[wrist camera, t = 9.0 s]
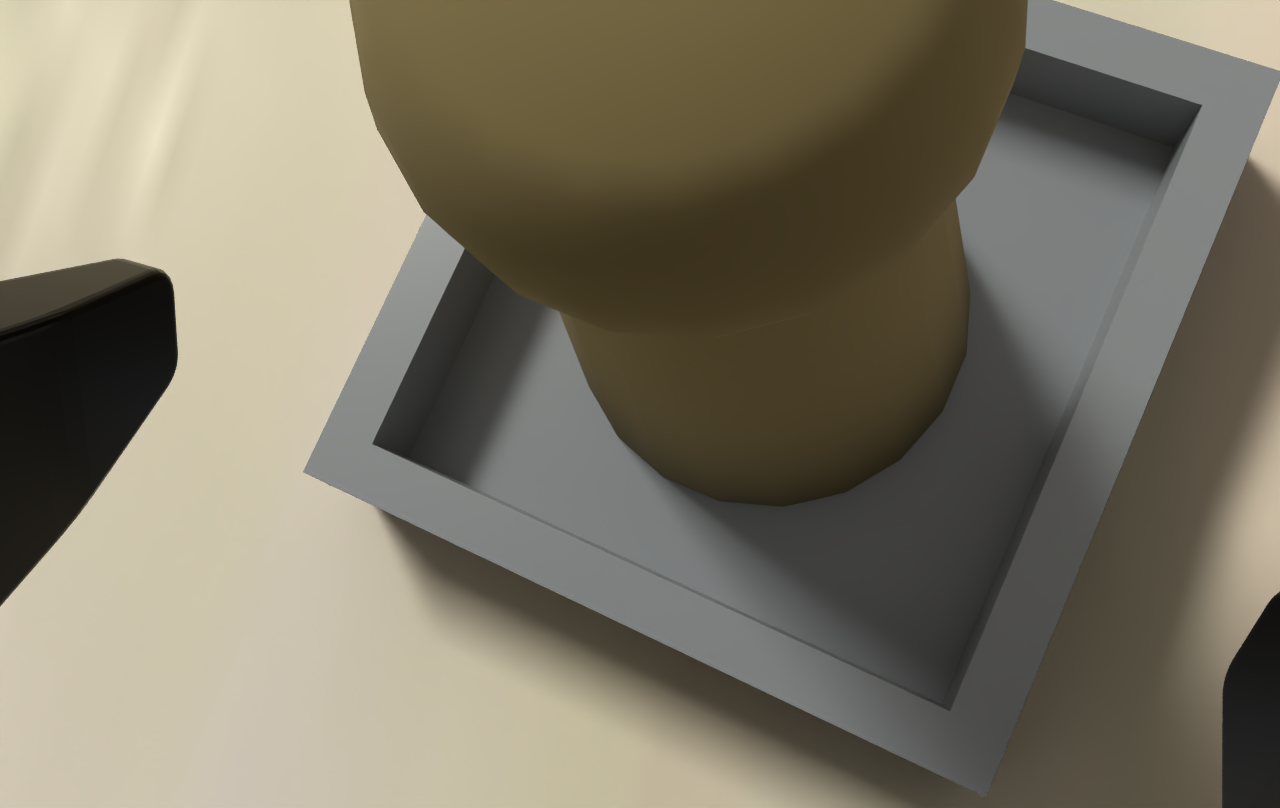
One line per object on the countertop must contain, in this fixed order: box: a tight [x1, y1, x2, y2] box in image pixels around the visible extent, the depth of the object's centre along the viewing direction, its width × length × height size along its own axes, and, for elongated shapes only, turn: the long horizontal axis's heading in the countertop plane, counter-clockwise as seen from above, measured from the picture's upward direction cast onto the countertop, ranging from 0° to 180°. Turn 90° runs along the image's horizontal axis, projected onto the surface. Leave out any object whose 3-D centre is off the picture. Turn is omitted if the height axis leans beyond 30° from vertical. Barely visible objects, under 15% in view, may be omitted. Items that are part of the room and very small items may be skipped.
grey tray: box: [303, 0, 1280, 797], centre depth 18 cm, size 10×10×2 cm
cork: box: [349, 0, 1028, 507], centre depth 13 cm, size 6×6×11 cm
